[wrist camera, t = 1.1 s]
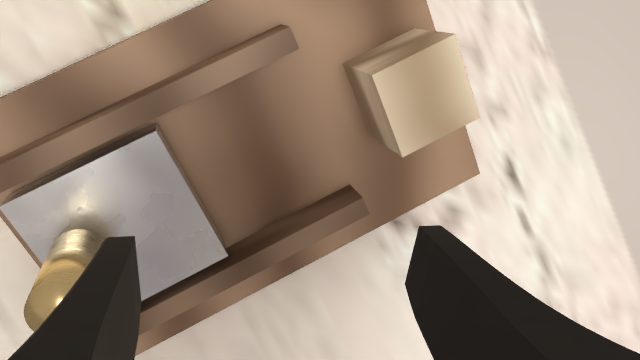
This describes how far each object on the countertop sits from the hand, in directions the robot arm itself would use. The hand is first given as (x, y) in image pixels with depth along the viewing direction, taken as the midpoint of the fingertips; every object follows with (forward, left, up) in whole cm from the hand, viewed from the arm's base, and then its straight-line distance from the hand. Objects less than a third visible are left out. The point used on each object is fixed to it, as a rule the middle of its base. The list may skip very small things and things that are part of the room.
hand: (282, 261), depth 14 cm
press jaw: (-6, -1, -13) cm, 14 cm away
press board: (+1, -1, -14) cm, 14 cm away
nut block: (+9, -1, -13) cm, 16 cm away
